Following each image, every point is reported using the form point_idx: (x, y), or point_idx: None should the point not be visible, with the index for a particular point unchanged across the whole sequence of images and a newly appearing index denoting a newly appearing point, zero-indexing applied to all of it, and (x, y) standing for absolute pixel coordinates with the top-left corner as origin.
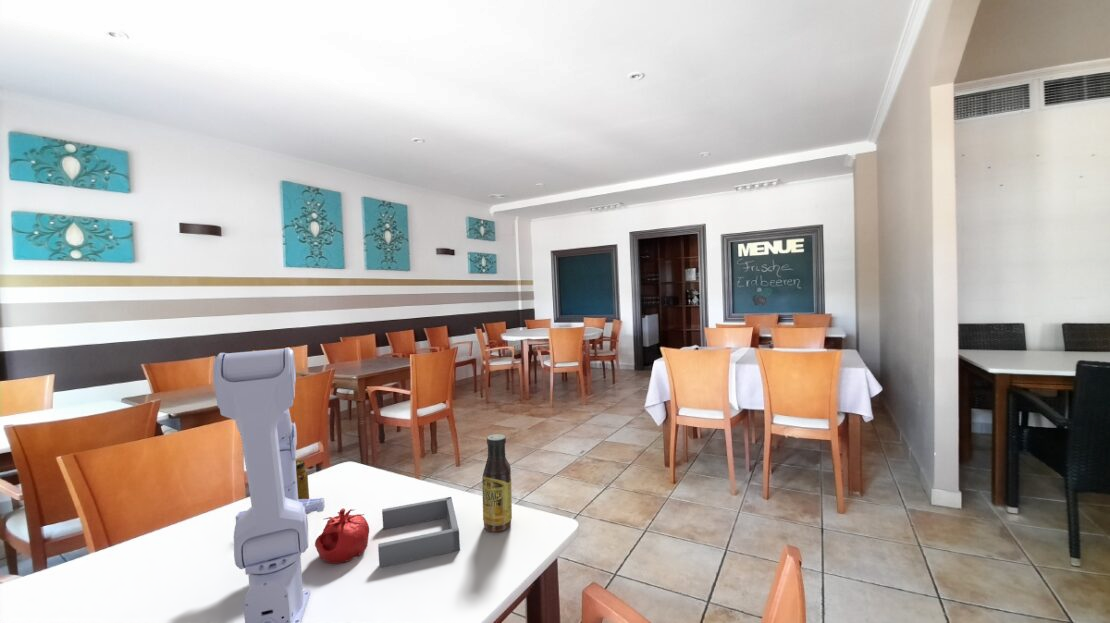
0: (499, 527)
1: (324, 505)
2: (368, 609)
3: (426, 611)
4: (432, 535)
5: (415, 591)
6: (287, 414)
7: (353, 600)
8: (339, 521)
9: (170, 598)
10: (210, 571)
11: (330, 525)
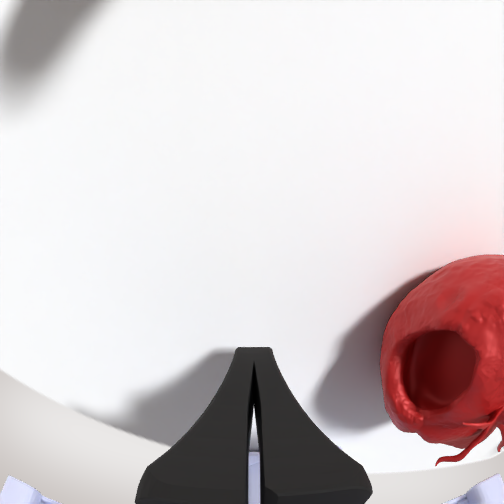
0: None
1: (501, 481)
2: (416, 467)
3: (464, 462)
4: None
5: None
6: None
7: (406, 457)
8: (497, 422)
9: (5, 345)
10: (4, 256)
11: (465, 431)
